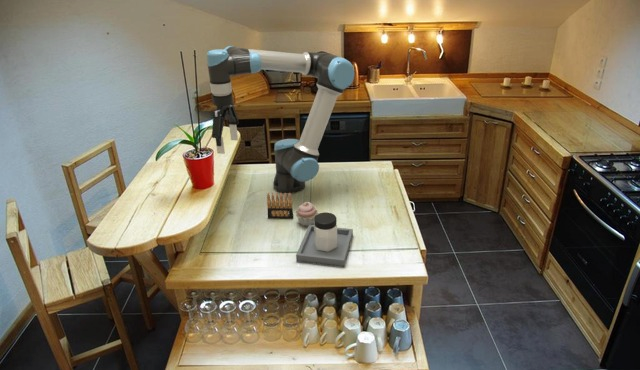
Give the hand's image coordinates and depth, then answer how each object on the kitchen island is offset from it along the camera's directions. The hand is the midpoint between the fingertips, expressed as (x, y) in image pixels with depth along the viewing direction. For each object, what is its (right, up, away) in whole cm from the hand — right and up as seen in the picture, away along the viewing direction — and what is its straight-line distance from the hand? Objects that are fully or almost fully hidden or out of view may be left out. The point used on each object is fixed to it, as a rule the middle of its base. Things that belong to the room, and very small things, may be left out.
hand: (228, 146), depth 180 cm
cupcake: (+31, -31, +9) cm, 44 cm away
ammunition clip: (+20, -29, +13) cm, 37 cm away
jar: (+38, -38, -8) cm, 54 cm away
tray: (+38, -39, -8) cm, 55 cm away
